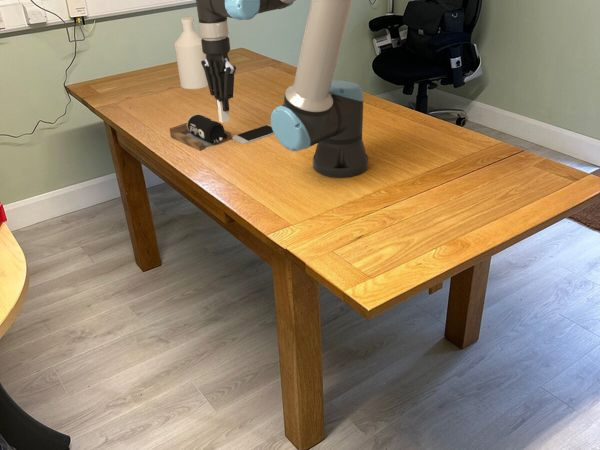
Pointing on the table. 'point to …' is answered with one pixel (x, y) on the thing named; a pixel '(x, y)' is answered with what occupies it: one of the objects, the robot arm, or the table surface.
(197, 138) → the grey rubber pad
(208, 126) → the beverage can
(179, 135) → the walnut U-rest
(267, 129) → the smartphone
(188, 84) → the bottle
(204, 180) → the table surface
